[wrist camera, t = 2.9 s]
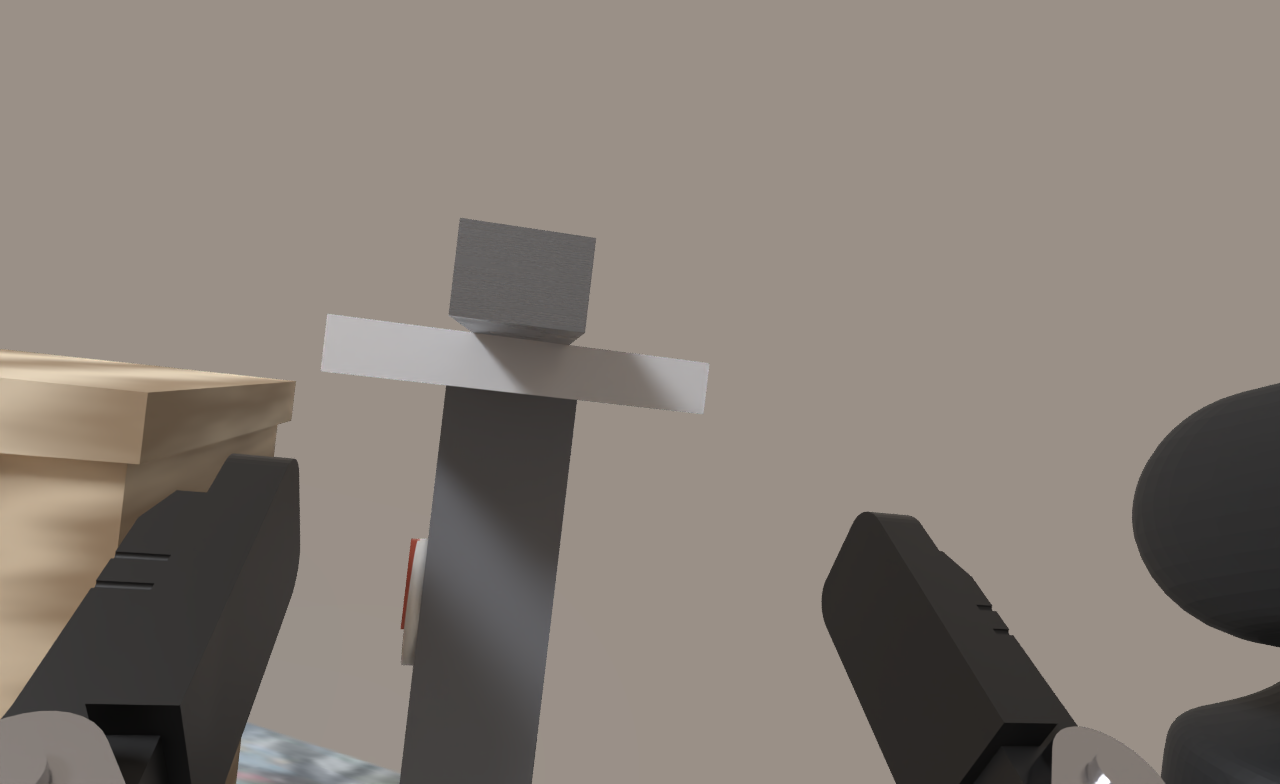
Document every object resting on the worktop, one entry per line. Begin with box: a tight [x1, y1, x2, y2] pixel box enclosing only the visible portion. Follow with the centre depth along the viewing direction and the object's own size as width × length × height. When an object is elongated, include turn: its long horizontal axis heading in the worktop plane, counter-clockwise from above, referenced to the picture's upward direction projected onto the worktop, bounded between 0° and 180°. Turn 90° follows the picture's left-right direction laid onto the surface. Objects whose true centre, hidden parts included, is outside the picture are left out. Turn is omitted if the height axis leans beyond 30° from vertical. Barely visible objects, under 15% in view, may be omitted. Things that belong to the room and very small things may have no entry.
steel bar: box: [449, 218, 596, 345], centre depth 31 cm, size 4×24×2 cm, turn 9°
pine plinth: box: [0, 349, 296, 784], centre depth 27 cm, size 13×17×29 cm
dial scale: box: [321, 314, 709, 784], centre depth 35 cm, size 14×16×32 cm
